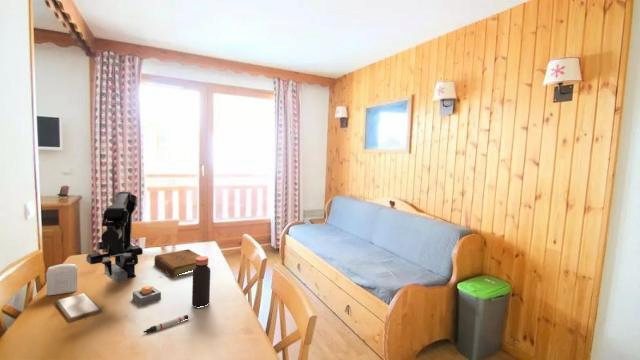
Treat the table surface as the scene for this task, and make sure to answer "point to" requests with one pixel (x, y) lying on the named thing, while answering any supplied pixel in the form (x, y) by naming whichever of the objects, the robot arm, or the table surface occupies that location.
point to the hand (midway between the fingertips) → (115, 274)
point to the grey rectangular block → (117, 274)
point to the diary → (177, 262)
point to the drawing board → (77, 306)
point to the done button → (146, 290)
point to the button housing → (146, 296)
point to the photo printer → (62, 279)
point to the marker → (166, 324)
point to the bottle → (201, 282)
